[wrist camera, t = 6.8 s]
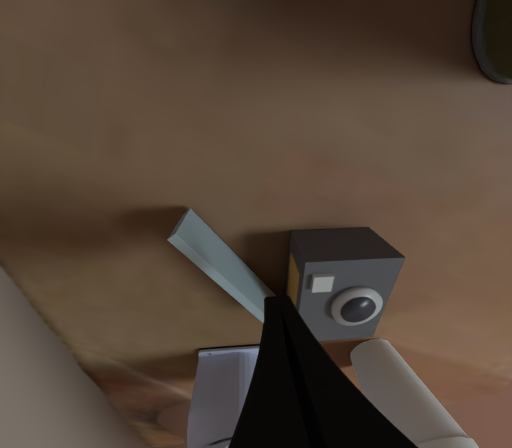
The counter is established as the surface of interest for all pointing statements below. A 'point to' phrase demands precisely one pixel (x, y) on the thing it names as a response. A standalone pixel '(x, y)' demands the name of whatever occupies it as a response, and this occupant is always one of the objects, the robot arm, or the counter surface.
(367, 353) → the foam cup
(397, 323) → the counter surface
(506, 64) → the canister
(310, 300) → the camera body
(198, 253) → the side door
